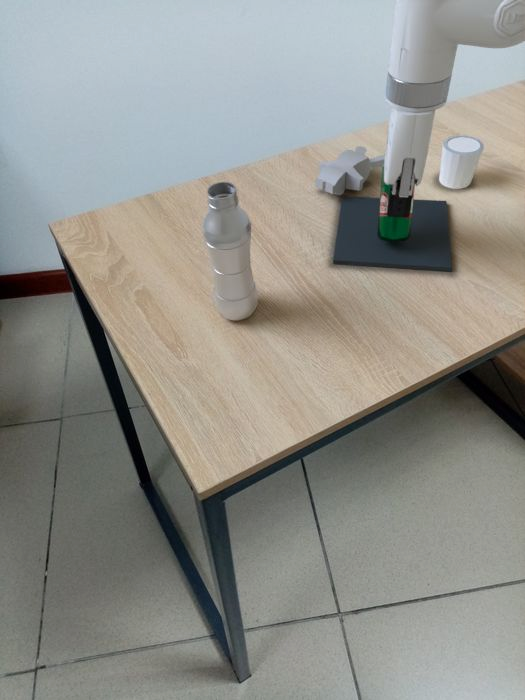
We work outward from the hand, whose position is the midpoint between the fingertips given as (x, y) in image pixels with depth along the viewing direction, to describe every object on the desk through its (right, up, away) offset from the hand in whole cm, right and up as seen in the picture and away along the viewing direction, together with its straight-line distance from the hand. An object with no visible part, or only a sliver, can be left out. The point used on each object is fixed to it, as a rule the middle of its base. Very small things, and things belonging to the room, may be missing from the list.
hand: (397, 213), depth 79 cm
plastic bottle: (-24, -14, 0) cm, 28 cm away
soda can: (+1, -3, +5) cm, 6 cm away
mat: (+1, -1, +9) cm, 10 cm away
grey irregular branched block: (-4, +11, +20) cm, 23 cm away
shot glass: (+15, +11, +19) cm, 26 cm away
